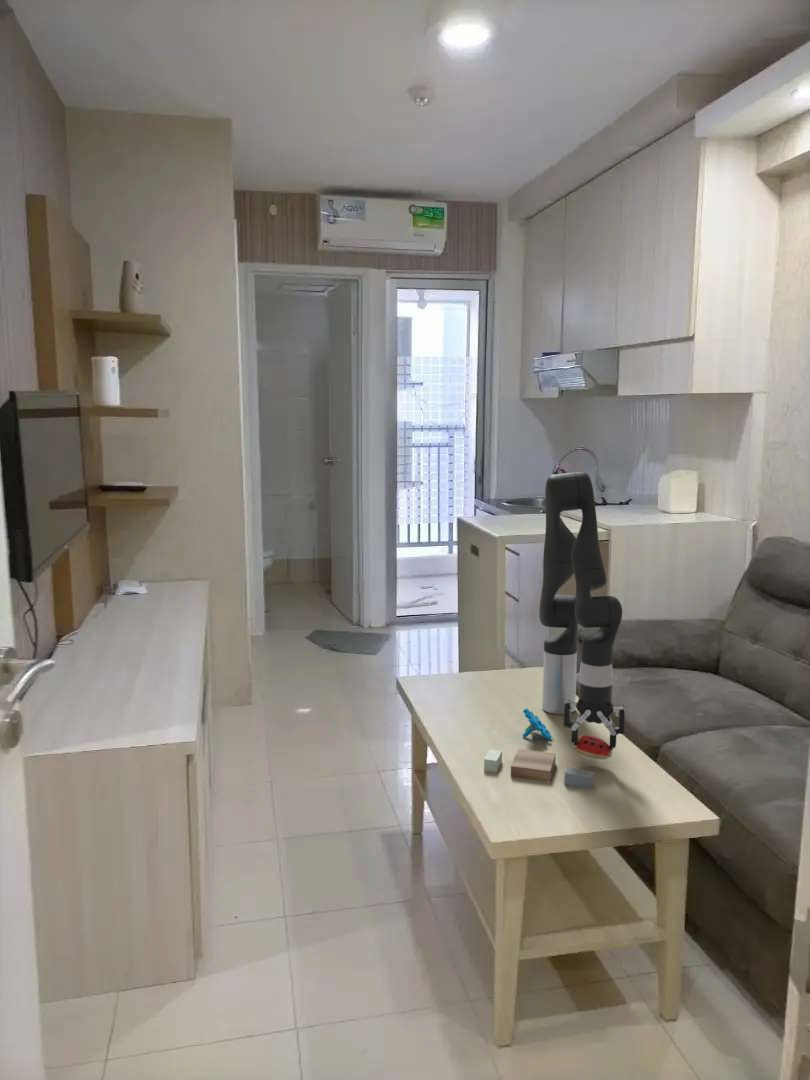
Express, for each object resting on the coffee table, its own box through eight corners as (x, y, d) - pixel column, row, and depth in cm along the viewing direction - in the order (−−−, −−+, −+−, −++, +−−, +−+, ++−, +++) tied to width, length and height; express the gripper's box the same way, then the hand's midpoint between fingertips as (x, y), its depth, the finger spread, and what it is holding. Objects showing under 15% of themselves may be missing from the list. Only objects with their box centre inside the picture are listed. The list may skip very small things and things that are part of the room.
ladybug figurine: (581, 742, 196) (582, 729, 195) (618, 754, 189) (619, 740, 188) (567, 751, 191) (567, 738, 190) (604, 764, 184) (605, 750, 184)
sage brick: (489, 760, 194) (489, 749, 193) (501, 762, 193) (502, 750, 192) (484, 771, 188) (484, 759, 188) (496, 772, 187) (496, 760, 187)
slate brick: (564, 785, 181) (564, 772, 180) (566, 779, 184) (567, 767, 183) (591, 790, 179) (591, 777, 178) (593, 784, 181) (593, 771, 181)
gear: (554, 740, 201) (526, 711, 202) (537, 756, 202) (509, 726, 203) (553, 730, 212) (527, 702, 213) (537, 744, 213) (511, 716, 214)
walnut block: (518, 760, 194) (518, 749, 194) (555, 765, 192) (555, 753, 191) (510, 778, 185) (510, 766, 185) (549, 783, 182) (550, 771, 182)
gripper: (628, 678, 187) (625, 744, 190) (566, 672, 191) (564, 736, 194) (626, 689, 180) (623, 757, 183) (562, 682, 184) (560, 749, 187)
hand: (593, 746), depth 188 cm, fingers closed on ladybug figurine, 7 cm apart
